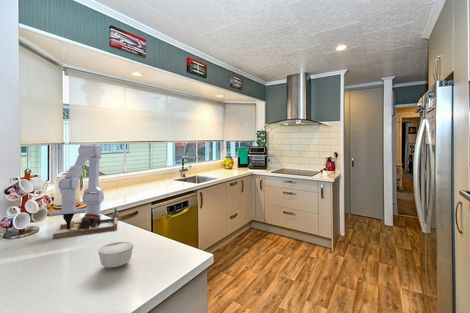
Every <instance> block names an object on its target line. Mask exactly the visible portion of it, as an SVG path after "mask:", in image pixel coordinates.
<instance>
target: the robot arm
mask: <svg viewBox="0 0 470 313" xmlns="http://www.w3.org/2000/svg"><path fill="white" fill-rule="evenodd" d="M77 153H78V156H77V158H76V161H75V163H74V165H71V166H70V167H69V169H68V171H67V173H66V175H65V176H64V178H62V179H60V180H59V182H58V183H57V184H58V188H59V192H60V194H61V210H57V211H51V212H50V213H49V216H50V217H52V218H53V217H58V216H62V217H63V220H64V221H65V224H67V228H66V230H68V231H69V230H70V223H71V221H73V220H72V219H73V218H74V216H75V215H78V214H96V215H99V216H100V220H102V215H103V214H101V204H102V202H104V199H105V195H104V190H103V189H102V188H101V187H99V180H100V176H99V175H100V160H101V159H102V147H101V146H100V145H99V144H81V145H79V147H78V149H77ZM87 161H88V163H89V164H88V181H87V182H88V187H87V188H86V189H85V190H84V191H83V195H82V199H81V200H82V202H83V203H84V205H85V208H77V205H76V204H77V201H76V199H77V198H76V197H77V196H76V195H77V194H76V192H77V191H76V190H77V188H78V187H79V186H80V185H79V182H80V177H81V175H82V173H83V167H84V165H85V164H86V162H87Z"/></svg>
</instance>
